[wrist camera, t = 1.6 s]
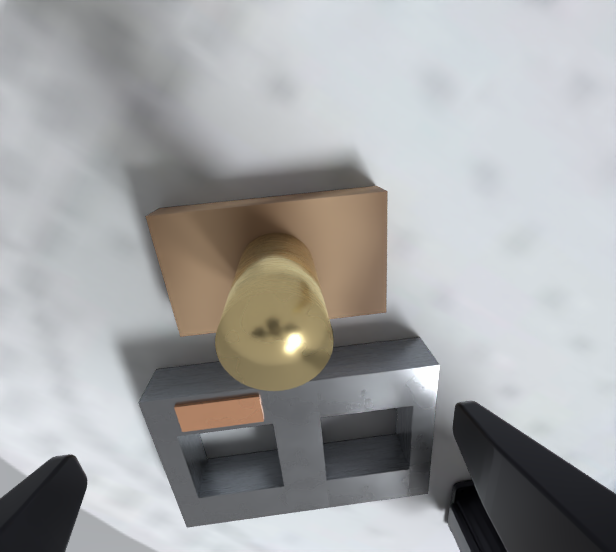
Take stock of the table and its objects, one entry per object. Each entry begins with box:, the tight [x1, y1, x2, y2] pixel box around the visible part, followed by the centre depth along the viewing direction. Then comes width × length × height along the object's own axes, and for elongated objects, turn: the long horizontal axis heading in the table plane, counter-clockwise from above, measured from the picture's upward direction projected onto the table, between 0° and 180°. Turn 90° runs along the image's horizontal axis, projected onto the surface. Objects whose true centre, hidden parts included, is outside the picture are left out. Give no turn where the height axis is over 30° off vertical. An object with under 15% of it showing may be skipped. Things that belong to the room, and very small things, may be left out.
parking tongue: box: [145, 186, 387, 337], centre depth 18 cm, size 12×7×2 cm, turn 95°
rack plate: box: [139, 337, 440, 527], centre depth 23 cm, size 18×12×3 cm, turn 95°
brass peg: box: [215, 233, 333, 391], centre depth 14 cm, size 4×4×7 cm
